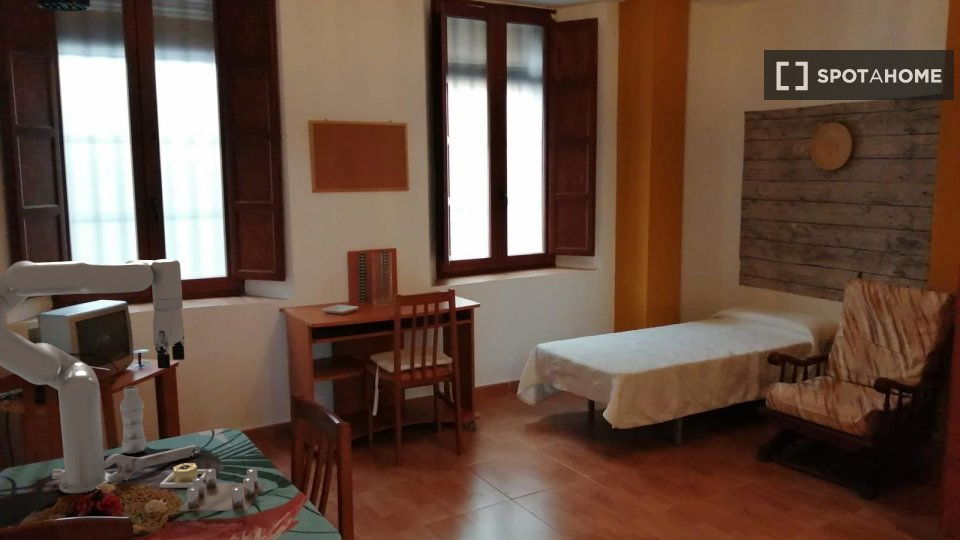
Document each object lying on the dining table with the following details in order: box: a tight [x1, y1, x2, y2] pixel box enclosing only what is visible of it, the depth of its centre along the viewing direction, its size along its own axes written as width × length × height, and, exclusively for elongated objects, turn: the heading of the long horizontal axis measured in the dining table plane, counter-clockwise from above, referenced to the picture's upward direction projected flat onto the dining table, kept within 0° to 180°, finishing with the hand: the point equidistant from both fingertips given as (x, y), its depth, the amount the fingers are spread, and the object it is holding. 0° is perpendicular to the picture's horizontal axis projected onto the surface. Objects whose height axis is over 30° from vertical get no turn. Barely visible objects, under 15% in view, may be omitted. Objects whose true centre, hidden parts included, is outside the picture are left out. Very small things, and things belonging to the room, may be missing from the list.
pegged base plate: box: [186, 467, 259, 509], centre depth 194 cm, size 16×15×4 cm
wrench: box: [103, 444, 201, 482], centre depth 214 cm, size 8×2×30 cm
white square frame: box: [159, 468, 208, 489], centre depth 204 cm, size 10×10×2 cm
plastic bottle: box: [119, 385, 147, 455], centre depth 227 cm, size 6×7×20 cm
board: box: [177, 482, 267, 512], centre depth 194 cm, size 17×17×1 cm
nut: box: [172, 462, 199, 483], centre depth 204 cm, size 6×6×4 cm
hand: (171, 363), depth 212 cm, fingers open, 9 cm apart
